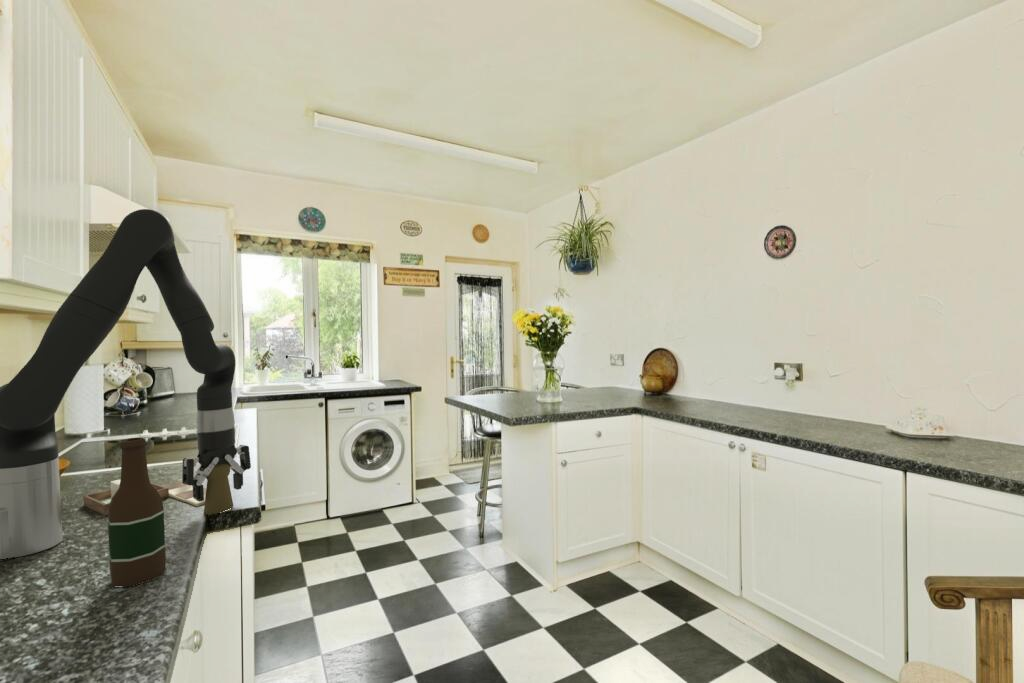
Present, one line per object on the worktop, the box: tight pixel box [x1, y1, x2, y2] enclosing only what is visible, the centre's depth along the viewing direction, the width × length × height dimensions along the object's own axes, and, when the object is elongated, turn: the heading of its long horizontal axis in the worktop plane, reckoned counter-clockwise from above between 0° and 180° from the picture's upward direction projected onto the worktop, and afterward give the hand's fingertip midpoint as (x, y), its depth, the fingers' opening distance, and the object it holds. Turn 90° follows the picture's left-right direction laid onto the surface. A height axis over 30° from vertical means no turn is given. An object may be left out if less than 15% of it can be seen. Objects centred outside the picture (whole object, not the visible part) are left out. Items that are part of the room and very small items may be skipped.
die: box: [110, 478, 121, 499], centre depth 117 cm, size 5×5×5 cm
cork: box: [203, 464, 234, 516], centre depth 110 cm, size 6×6×11 cm
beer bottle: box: [107, 437, 167, 588], centre depth 80 cm, size 8×8×24 cm
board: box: [162, 480, 207, 507], centre depth 122 cm, size 7×24×1 cm, turn 59°
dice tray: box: [82, 481, 170, 516], centre depth 117 cm, size 13×13×2 cm
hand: (219, 494), depth 110 cm, fingers open, 8 cm apart
